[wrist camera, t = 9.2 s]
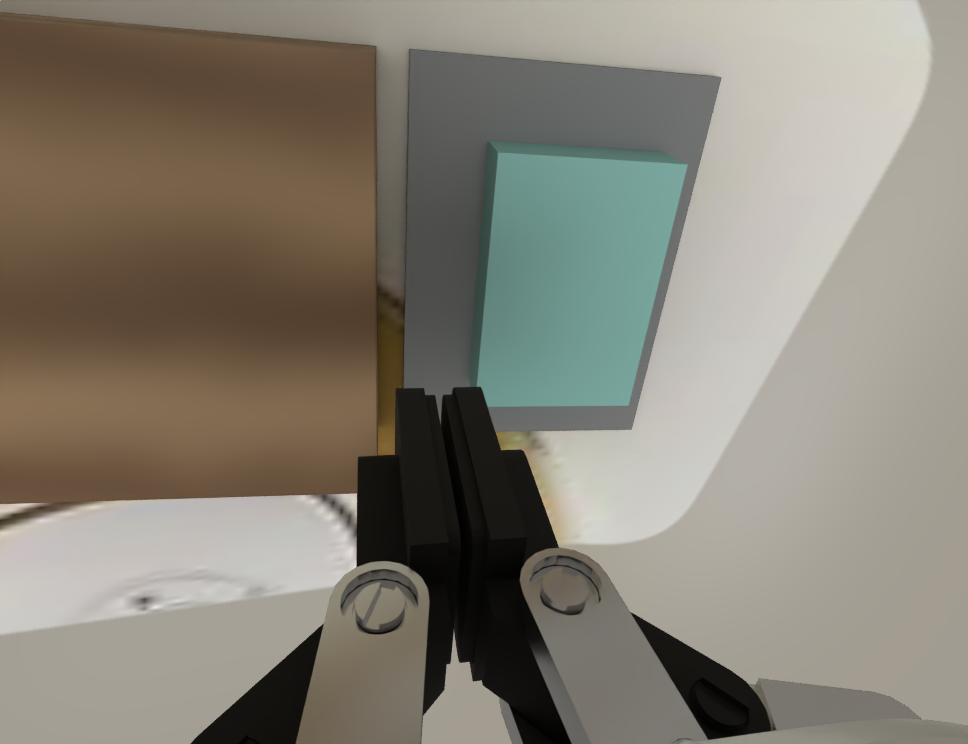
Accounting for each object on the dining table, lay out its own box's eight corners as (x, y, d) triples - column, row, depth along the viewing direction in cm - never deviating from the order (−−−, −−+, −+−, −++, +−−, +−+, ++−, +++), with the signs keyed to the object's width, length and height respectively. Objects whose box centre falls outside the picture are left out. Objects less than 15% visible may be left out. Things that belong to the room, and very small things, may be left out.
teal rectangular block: (688, 164, 19) (662, 152, 20) (498, 152, 18) (488, 140, 19) (628, 405, 23) (611, 378, 25) (474, 406, 22) (468, 378, 24)
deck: (-453, -28, 15) (-710, -42, 11) (376, 45, 18) (373, 53, 14) (-183, 434, 22) (-289, 512, 18) (378, 427, 25) (376, 492, 21)
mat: (409, 48, 18) (410, 49, 18) (715, 76, 20) (721, 77, 19) (402, 427, 25) (402, 432, 25) (628, 424, 27) (631, 429, 26)
